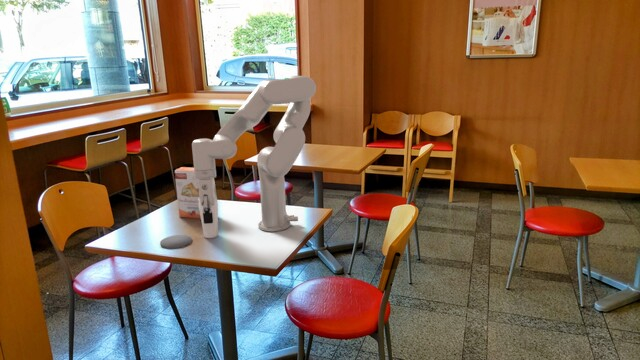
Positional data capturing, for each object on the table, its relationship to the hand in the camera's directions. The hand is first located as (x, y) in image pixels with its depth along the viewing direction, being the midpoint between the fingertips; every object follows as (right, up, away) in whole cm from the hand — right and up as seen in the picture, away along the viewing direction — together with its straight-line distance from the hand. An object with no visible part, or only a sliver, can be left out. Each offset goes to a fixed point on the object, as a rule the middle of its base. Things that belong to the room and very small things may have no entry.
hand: (209, 219), depth 165 cm
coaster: (-11, -8, -4) cm, 14 cm away
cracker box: (-11, -1, +24) cm, 26 cm away
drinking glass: (0, -7, +2) cm, 7 cm away
